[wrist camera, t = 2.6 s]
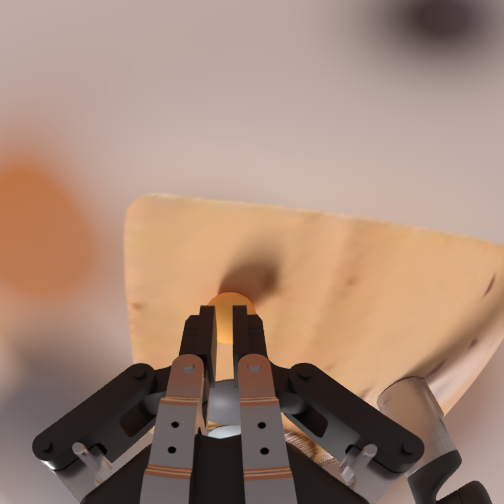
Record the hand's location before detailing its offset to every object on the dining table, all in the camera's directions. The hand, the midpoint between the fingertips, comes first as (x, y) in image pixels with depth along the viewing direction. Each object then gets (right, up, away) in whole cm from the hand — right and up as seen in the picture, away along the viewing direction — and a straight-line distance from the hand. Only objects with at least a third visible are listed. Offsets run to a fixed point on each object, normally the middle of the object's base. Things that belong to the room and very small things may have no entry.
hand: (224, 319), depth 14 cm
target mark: (-1, -20, +26) cm, 33 cm away
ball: (-1, -3, +15) cm, 15 cm away
